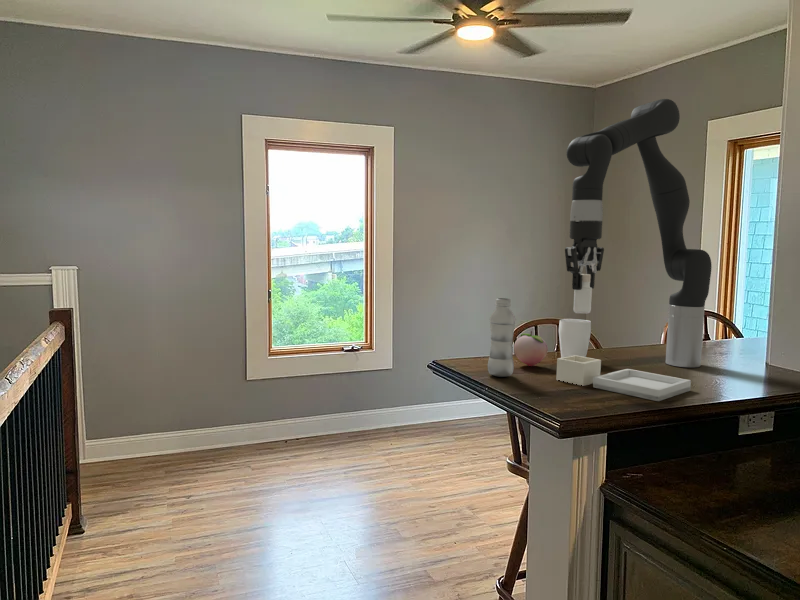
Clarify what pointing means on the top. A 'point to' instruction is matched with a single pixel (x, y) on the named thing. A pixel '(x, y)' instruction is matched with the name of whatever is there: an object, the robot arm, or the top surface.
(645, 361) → the top surface
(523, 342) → the decorative fruit
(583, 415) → the top surface
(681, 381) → the tray
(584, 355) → the cup
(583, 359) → the holder
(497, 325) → the plastic bottle
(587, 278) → the pepper shaker
